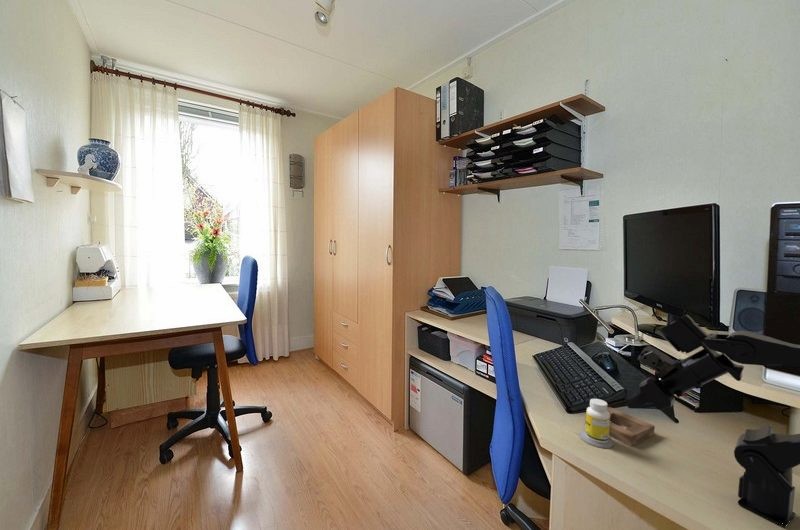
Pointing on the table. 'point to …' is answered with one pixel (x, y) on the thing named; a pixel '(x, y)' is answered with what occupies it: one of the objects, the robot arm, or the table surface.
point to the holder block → (635, 429)
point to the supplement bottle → (597, 421)
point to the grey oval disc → (597, 444)
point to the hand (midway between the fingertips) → (633, 400)
